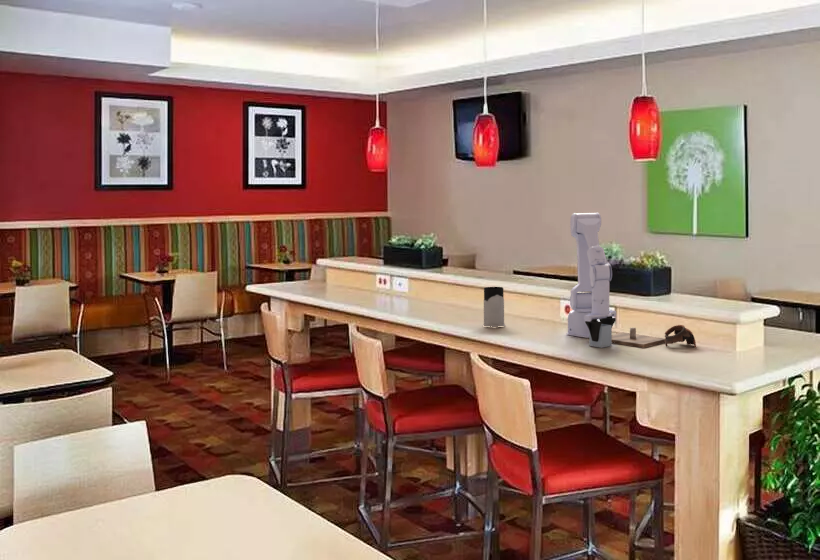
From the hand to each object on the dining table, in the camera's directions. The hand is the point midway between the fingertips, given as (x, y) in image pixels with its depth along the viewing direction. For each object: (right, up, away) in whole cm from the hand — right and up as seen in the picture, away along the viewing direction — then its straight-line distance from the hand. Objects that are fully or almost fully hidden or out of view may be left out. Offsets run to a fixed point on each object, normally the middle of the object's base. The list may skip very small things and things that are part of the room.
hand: (600, 340), depth 291 cm
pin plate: (+13, -1, +7) cm, 14 cm away
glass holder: (-32, +2, +46) cm, 56 cm away
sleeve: (0, -2, 0) cm, 2 cm away
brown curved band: (+26, -2, -2) cm, 26 cm away
